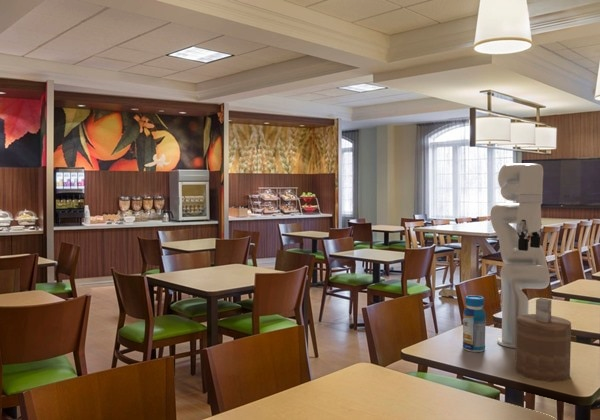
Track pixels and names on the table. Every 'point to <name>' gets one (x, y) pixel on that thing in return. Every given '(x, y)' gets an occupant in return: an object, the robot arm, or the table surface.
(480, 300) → the beverage bottle
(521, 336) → the walnut cover
